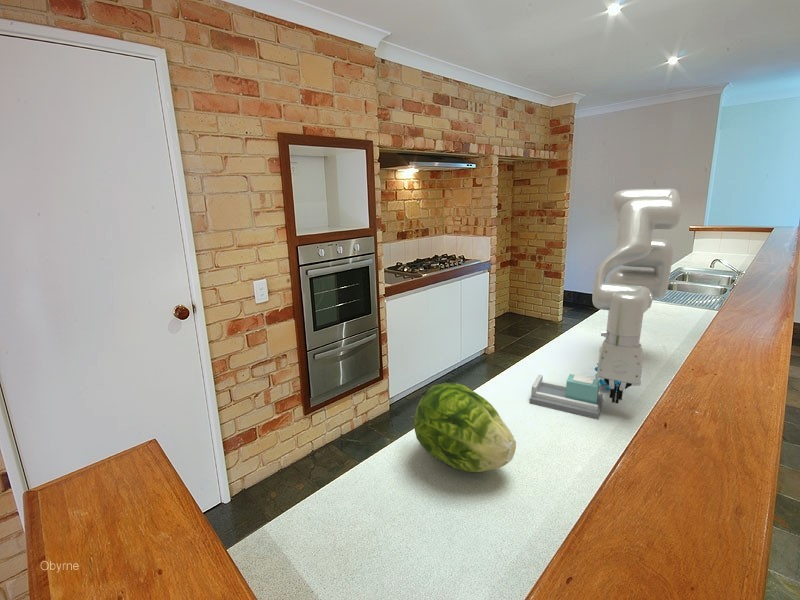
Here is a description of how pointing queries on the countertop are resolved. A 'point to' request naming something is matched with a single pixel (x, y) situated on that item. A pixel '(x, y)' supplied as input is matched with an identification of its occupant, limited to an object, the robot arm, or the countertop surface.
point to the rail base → (562, 399)
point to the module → (582, 388)
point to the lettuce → (462, 429)
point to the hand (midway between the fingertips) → (615, 400)
